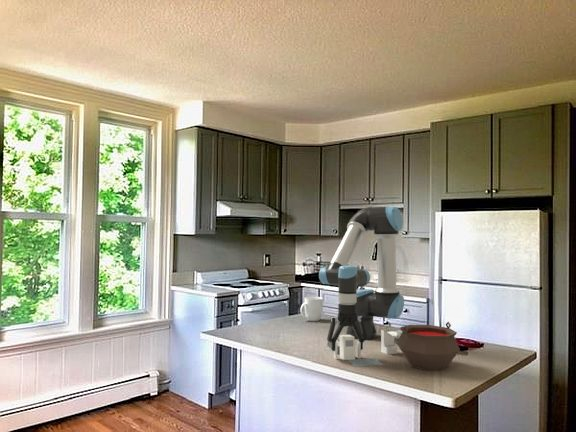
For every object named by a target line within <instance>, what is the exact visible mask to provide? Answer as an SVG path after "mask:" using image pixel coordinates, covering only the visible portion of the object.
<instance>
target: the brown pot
mask: <svg viewBox="0 0 576 432" xmlns="http://www.w3.org/2000/svg"><path fill="white" fill-rule="evenodd" d="M451 327H452V325H451V322H450V321H447V322H446V323H445V326H439V325H433V324H406V325H405V326H402V327H399V330H400V331H401V334H400V336H399V338H398V341H397V342H396V346H397V347H399V350H400V351H401V352H402V354H403V356H404V357H405V359H406V360H407V362H408V363H409V364H410V366H412V368H416V369H421V370H426V371H441V370H444V369H446V368H448V366H449V365H450V364H451V362H452V361H453V360H454V359H455V357H456V356H457V355H458V353H460V351H461V349H460V347H459V345H458V344H459V343H458V342H457V339H456V337H455V336H456V335H457V334H458V332H457V331H455V330H453V329H452V328H451Z"/></svg>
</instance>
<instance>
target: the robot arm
mask: <svg viewBox="0 0 576 432" xmlns="http://www.w3.org/2000/svg"><path fill="white" fill-rule="evenodd" d="M403 225H404V220H403V215H402V212H401V211H400V209H399V208H398V207H396V206H367V207H364V208H361V210H359V211H357V212H356V213H355V214H354V215H353V216H352V217H351V218H350V219H349V221H348V223H347V226H346V229H347V230H346V231H345V234H344V235H343V237H342V239H341V241H340V243H339V245H338V246H337V249H336V250H335V253H334V255H333V257H332V258H331V260H330V263H329V264H328V266H325V267H322V268H320V269H319V272H318V279H319V282H321V283H322V284H324V285H334V286H338V296H337V297H338V300H337V301H338V306H337V307H338V309H337V316H330V324H329V329H328V334H327V338H326V339H327V340H328V341H329V342H331V343H332V348H330V349H331V351H333V359H334V360H338V354H337V343H336V341H337V339H339V338H340V335H341V332H342V330H343V329H344V328H345V327H347V328H346V333H345V335H351V336H354V338H355V339H356V340H357V341H356V357H357V359H362V358H361V355H362V354H361V352H362V350H364V348H363V347H364V342H366V341H368V340H370V339H371V340H372V339H376V338H377V336H378V332H377V328H376V325H375V322H374V318H384V319H389V320H390V319H392V320H397V319H399V318H400V317H401V315H402V313H403V311H404V307H405V299H404V295H402V294H400V289H399V288H397V263H396V262H397V260H396V258H397V256H396V255H397V253H396V251H397V250H396V247H397V246H396V238H397V237H398V236H399V231H402V229H403ZM368 231H373V234H374V236H375V237H376V238H377V239H376V240H377V283H378V284H377V288H375V290H374V289H373V288H368V289H367V288H366V289H364V288H363V287H365V286H367V285H368V284H369V283H370V281H371V274H370V272H369V271H368V270H367V269H364V268H357V267H356V265H349V264H350V260H351V259H352V256H353V254H354V252H355V251H356V248H357V246H358V244H359V243H360V240H361V238H362V237H364V235H366V232H368ZM359 287H362V288H363V289H357V288H359ZM337 321H338V325H337V328H336V323H337ZM335 328H336V329H335Z"/></svg>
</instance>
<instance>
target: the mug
mask: <svg viewBox="0 0 576 432" xmlns="http://www.w3.org/2000/svg"><path fill="white" fill-rule="evenodd" d="M303 299H304V302H303V303H302V304H301V306H300V311H299V312H300V314H301V316H302V317H303V318H306V319H307V321H309V322H319V321H320V319H321V318H322V315H323V311H324V310H323V308H324V298H323V297H321V296H305V297H304V298H303ZM303 309H304V311H303Z"/></svg>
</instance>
